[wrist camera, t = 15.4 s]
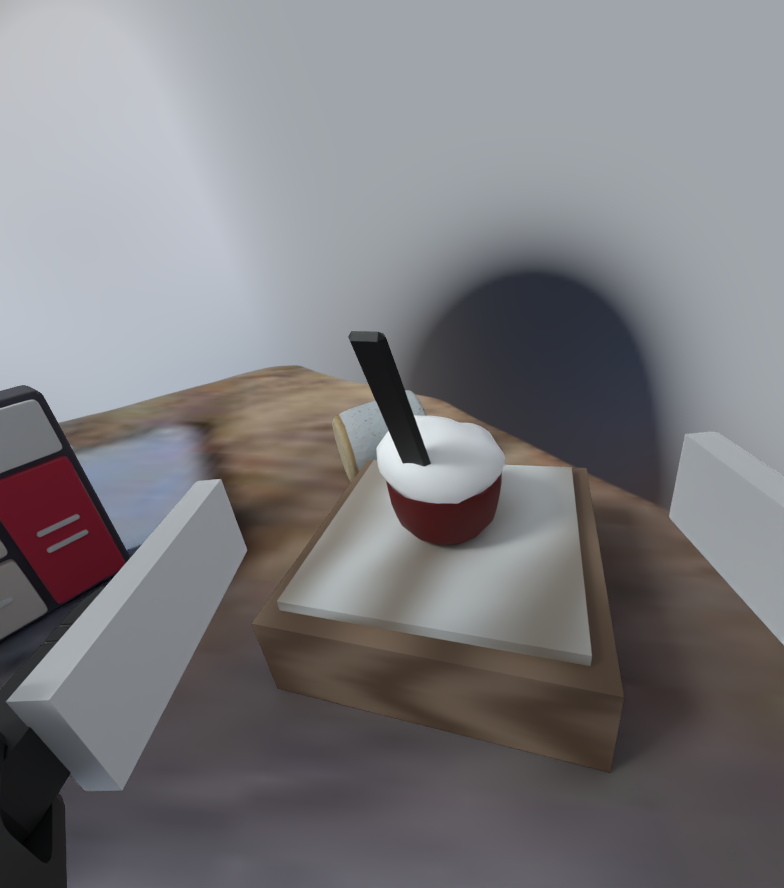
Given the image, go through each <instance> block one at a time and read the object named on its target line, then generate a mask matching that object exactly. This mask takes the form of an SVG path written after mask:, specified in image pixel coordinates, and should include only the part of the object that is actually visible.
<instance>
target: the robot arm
mask: <svg viewBox="0 0 784 888" xmlns="http://www.w3.org/2000/svg"><path fill="white" fill-rule="evenodd" d="M669 518H670V519H671V520H672V521H673V522H674V524H675V525H676V526H677V527H678V528H679V529H680V530H681V531H682V532H683V534H684V535H685V536H686V537H687V538H688V539H689V540H690V541H691V542H692V544H693V545H694V546H695V547H696V548H697V549H698V550H699V551H700V552H701V554H702V555H703V556H704V557H705V558H706V559H707V560H708V561H709V563H710V564H711V565H712V566H713V567H714V568H715V569H716V570H717V571H718V573H719V574H720V575H721V576H722V577H723V578H724V579H725V580H726V581H727V583H728V584H729V585H730V586H731V587H732V588H733V589H734V590H735V592H736V593H737V594H738V595H739V596H740V597H741V598H742V599H743V600H744V602H745V603H746V604H747V605H748V606H749V607H750V608H751V609H752V610H753V612H754V613H755V614H756V615H757V616H758V617H759V618H760V619H761V621H762V622H763V623H764V624H765V625H766V626H767V627H768V628H769V629H770V631H771V632H772V633H773V634H774V635H775V636H776V637H777V638H778V639H779V641H780V642H781V643H782V644H783V645H784V476H783V475H782V474H780V473H778V472H777V471H775V470H774V469H772V468H771V467H769V466H768V465H766V464H765V463H763V462H762V461H760V460H759V459H757V458H756V457H754V456H753V455H751V454H750V453H748V452H747V451H745V450H744V449H742V448H741V447H739V446H738V445H736V444H734V443H733V442H731V441H730V440H728V439H727V438H725V437H724V436H722V435H721V434H719V433H718V432H716V431H712V432H702V433H692V434H685V438H684V443H683V448H682V453H681V458H680V463H679V468H678V473H677V479H676V484H675V489H674V494H673V499H672V504H671V509H670V514H669ZM246 552H247V548H246V545H245V543H244V540H243V537H242V535H241V532H240V529H239V526H238V524H237V521H236V518H235V516H234V513H233V510H232V508H231V505H230V502H229V500H228V497H227V494H226V492H225V489H224V486H223V483H222V481H221V479H216V480H206V481H197V482H196V483H195V484H194V485H193V486H192V487H191V489H190V490H189V491H188V492H187V493H186V494H185V495H184V497H183V498H182V499H181V500H180V501H179V502H178V504H177V505H176V506H175V507H174V508H173V509H172V510H171V512H170V513H169V514H168V515H167V516H166V517H165V519H164V520H163V521H162V522H161V523H160V524H159V526H158V527H157V528H156V529H155V530H154V531H153V532H152V534H151V535H150V536H149V537H148V538H147V539H146V541H145V542H144V543H143V544H142V545H141V546H140V547H139V549H138V550H137V551H136V552H135V553H134V554H133V556H132V557H131V558H130V559H129V560H128V561H127V562H126V564H125V565H124V566H123V567H122V568H121V569H120V571H119V572H118V573H117V574H116V575H115V576H114V577H113V579H112V580H111V581H110V582H109V583H108V584H107V586H102V587H100V588H98V589H97V590H96V591H95V592H93V593H92V594H91V595H89V596H88V597H87V598H85V599H84V600H83V601H81V602H80V603H79V604H78V605H77V606H76V607H75V608H74V609H73V610H72V611H71V612H70V613H69V615H68V616H67V617H66V618H65V619H64V620H63V621H62V622H61V623H60V627H59V628H56V629H55V630H54V631H53V632H52V633H51V635H50V636H49V637H48V638H47V639H46V640H45V644H44V645H41V646H40V647H39V648H38V649H37V650H36V651H35V652H34V653H33V655H32V656H31V657H30V658H29V659H28V660H27V661H26V662H25V663H24V665H23V666H22V667H21V668H20V669H19V670H18V671H17V672H16V673H15V675H14V676H13V677H12V678H11V679H10V680H9V681H8V682H7V683H6V685H5V686H4V687H3V688H2V689H1V690H0V888H67V873H66V833H65V805H64V802H63V799H62V796H61V795H60V794H59V791H60V789H61V788H62V786H63V785H64V783H65V781H66V780H67V778H68V777H69V775H71V776H72V777H73V778H74V779H75V781H76V782H77V783H78V784H79V785H80V786H81V787H82V788H83V790H84V791H122V790H123V788H124V786H125V784H126V783H127V781H128V779H129V777H130V775H131V773H132V771H133V769H134V767H135V765H136V763H137V761H138V759H139V758H140V756H141V754H142V752H143V750H144V748H145V746H146V744H147V742H148V740H149V738H150V736H151V734H152V733H153V731H154V729H155V727H156V725H157V723H158V721H159V719H160V717H161V715H162V713H163V711H164V709H165V708H166V706H167V704H168V702H169V700H170V698H171V696H172V694H173V692H174V690H175V688H176V686H177V684H178V683H179V681H180V679H181V677H182V675H183V673H184V671H185V669H186V667H187V665H188V663H189V661H190V659H191V658H192V656H193V654H194V652H195V650H196V648H197V646H198V644H199V642H200V640H201V638H202V636H203V634H204V633H205V631H206V629H207V627H208V625H209V623H210V621H211V619H212V617H213V615H214V613H215V611H216V610H217V608H218V606H219V604H220V602H221V600H222V598H223V596H224V594H225V592H226V590H227V588H228V586H229V585H230V583H231V581H232V579H233V577H234V575H235V573H236V571H237V569H238V567H239V565H240V563H241V561H242V560H243V558H244V556H245V554H246Z"/></svg>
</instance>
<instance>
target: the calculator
mask: <svg viewBox="0 0 784 888" xmlns="http://www.w3.org/2000/svg"><path fill="white" fill-rule="evenodd" d="M129 559H130V556H129V554H128V552H127V550H126V548H125V546H124V545H123V543H122V541H121V539H120V537H119V535H118V533H117V532H116V530H115V528H114V526H113V524H112V522H111V520H110V519H109V517H108V515H107V513H106V511H105V509H104V507H103V506H102V504H101V502H100V500H99V498H98V496H97V494H96V493H95V491H94V489H93V487H92V485H91V483H90V481H89V480H88V478H87V476H86V474H85V472H84V470H83V468H82V467H81V465H80V463H79V461H78V459H77V457H76V455H75V454H74V452H73V450H72V448H71V446H70V444H69V442H68V441H67V439H66V437H65V435H64V433H63V431H62V429H61V428H60V426H59V424H58V422H57V420H56V418H55V416H54V415H53V413H52V411H51V409H50V407H49V405H48V404H47V402H46V400H45V398H44V396H43V395H42V394H41V393H40V392H38V391H36V390H35V389H33V388H31V387H28V386H25V385H22V386H17V387H14V388H10V389H6V390H3V391H0V641H2V640H4V639H5V638H7V637H9V636H11V635H12V634H14V633H16V632H17V631H19V630H21V629H23V628H24V627H26V626H28V625H29V624H31V623H33V622H35V621H36V620H38V619H40V618H41V617H43V616H45V615H47V614H48V613H50V612H52V611H53V610H55V609H57V608H59V607H60V606H62V605H64V604H65V603H67V602H69V601H71V600H72V599H74V598H76V597H77V596H79V595H81V594H83V593H84V592H86V591H88V590H89V589H91V588H93V587H95V586H96V585H98V584H100V583H101V582H103V581H105V580H107V579H108V578H110V577H112V576H113V575H115V574H117V573H118V572H119V571H120V569H121V568H122V567H123V566H124V565H125V564H126V562H127V561H128V560H129Z"/></svg>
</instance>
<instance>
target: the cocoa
mask: <svg viewBox="0 0 784 888" xmlns="http://www.w3.org/2000/svg"><path fill="white" fill-rule="evenodd" d="M349 339H350V342H351V344H352V346H353V349H354V351H355V354H356V356H357V358H358V361H359V363H360V365H361V367H362V370H363V372H364V375H365V377H366V379H367V382H368V384H369V386H370V389H371V391H372V393H373V396H374V398H375V400H376V403H377V405H378V407H379V410H380V412H381V414H382V417H383V419H384V421H385V424H386V426H387V428H388V432H387V433H386V435H385V436H384V437H383V439H382V440H381V442H380V443H379V445H378V446H377V447H376V451H377V462H378V468H379V471H380V473H381V474H382V476H383V477H384V478H385V479H386V483H387V487H388V492H389V496H390V500H391V504H392V506H393V509H394V511H395V514H396V516H397V518H398V519H399V521H400V523H401V525H402V526H403V527H404V528H406V529H407V530H408V531H409V532H411V533H412V534H413V535H414V536H416V537H417V538H418V539H420V540H422V541H426V542H429V543H433V544H437V545H447V544H459V543H462V542H465V541H467V540H470V539H473V538H475V537H476V536H477V535H478V534H479V533H481V532H482V531H483V530H484V529H485V528H486V527H487V526H488V525H489V524H490V523H491V522H492V521H493V519H494V516H495V513H496V510H497V505H498V501H499V496H500V490H501V483H502V469H503V467H504V464H505V455H504V453H503V452H502V450H501V449H500V448H499V446H498V445H497V443H496V442H495V440H494V439H493V437H492V435H491V433H490V432H489V431H487V430H486V429H484V428H482V427H481V426H478V425H475V424H472V423H458V422H456V421H454V420H452V419H449V418H444V417H437V416H418V415H414V414H413V412H412V409H411V406H410V403H409V400H408V398H407V395H406V392H405V389H404V387H403V384H402V381H401V378H400V375H399V373H398V370H397V367H396V364H395V362H394V359H393V356H392V353H391V350H390V348H389V345H388V342H387V339H386V337H385V335H384V334H383V333H380V332H357V331H351V333H350V335H349Z"/></svg>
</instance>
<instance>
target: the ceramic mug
mask: <svg viewBox="0 0 784 888" xmlns="http://www.w3.org/2000/svg"><path fill="white" fill-rule="evenodd" d="M405 392H406V395H407V398H408V400H409V403H410V406H411V409H412V412H413V414H414V415H418V416H427V415H426V413H425V411H424V409H423V407H422V404H421V402H420V401H419V399H418V398H417V396H416V395H415V394H414V393H413V392H411V391H410V390H406V391H405ZM332 425H333V431H334V435H335V439H336V443H337V447H338V450H339V453H340V456H341V459H342V462H343V465H344V468H345V471H346V474H347V476H348V478H349V480H350V482H352V481H353V480H354V478H355V477H356V475H357V474H358V473H359V471H360V470H361V468H362V467H363V466H364V464H365V463H366V461H367V460H377V451H376V447H377V446H378V445H379V443H380V442H381V440H382V439H383V437H384V436H385V435H386V433H387V432H388V428H387V426H386V424H385V421H384V419H383V417H382V414H381V412H380V410H379V407H378V405H377V403H376V401H373V402H370V403H367V404H364V405H360V406H357V407H354V408H351V409H349V410H346V411H344V412H342V413H341V414H339V415H337V416H336V417H335V418H334V419H333V423H332Z"/></svg>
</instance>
